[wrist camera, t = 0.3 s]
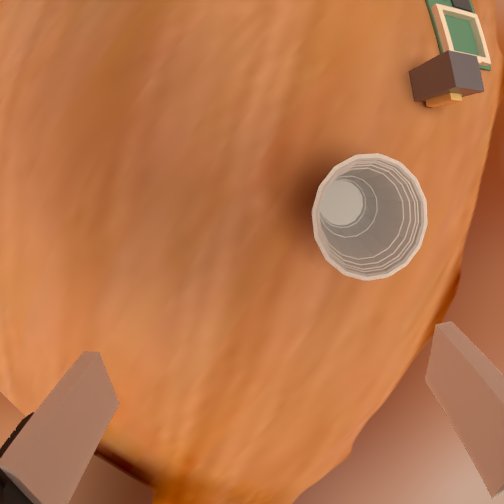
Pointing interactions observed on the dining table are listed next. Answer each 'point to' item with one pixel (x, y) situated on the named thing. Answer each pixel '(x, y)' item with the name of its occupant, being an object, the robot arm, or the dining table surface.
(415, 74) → the dark grey rectangular block
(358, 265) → the plastic cup
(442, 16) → the board
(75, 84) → the dining table surface
